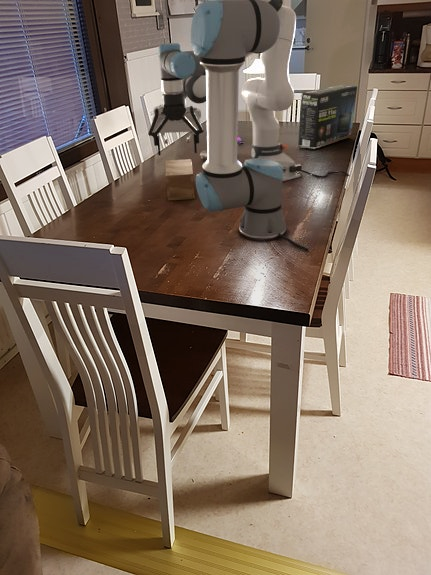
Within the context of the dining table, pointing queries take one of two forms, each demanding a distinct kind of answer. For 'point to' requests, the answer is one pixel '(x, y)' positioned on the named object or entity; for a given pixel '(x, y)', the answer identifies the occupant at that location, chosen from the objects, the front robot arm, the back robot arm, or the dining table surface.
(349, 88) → the router box
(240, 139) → the handgun
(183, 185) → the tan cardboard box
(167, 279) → the dining table surface
